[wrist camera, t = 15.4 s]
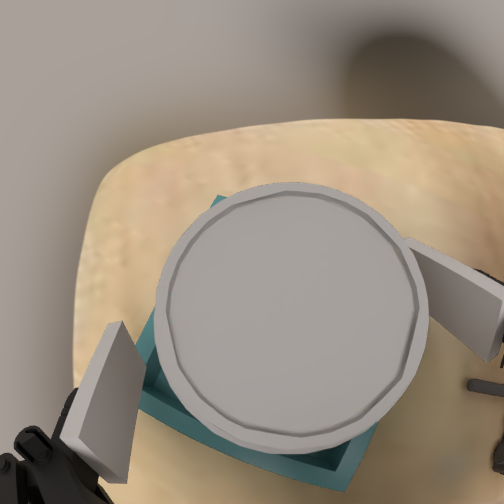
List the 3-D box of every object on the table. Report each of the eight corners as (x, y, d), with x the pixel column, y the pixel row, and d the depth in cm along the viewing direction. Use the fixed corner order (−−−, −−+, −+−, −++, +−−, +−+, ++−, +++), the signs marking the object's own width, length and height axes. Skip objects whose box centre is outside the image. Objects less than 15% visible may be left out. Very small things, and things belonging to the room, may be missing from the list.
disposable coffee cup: (266, 442, 17) (269, 519, 6) (182, 333, 20) (94, 274, 9) (373, 353, 19) (482, 313, 8) (288, 256, 22) (307, 135, 11)
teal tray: (224, 220, 25) (217, 194, 21) (401, 286, 21) (421, 268, 18) (136, 392, 19) (113, 392, 16) (332, 476, 16) (344, 492, 12)
